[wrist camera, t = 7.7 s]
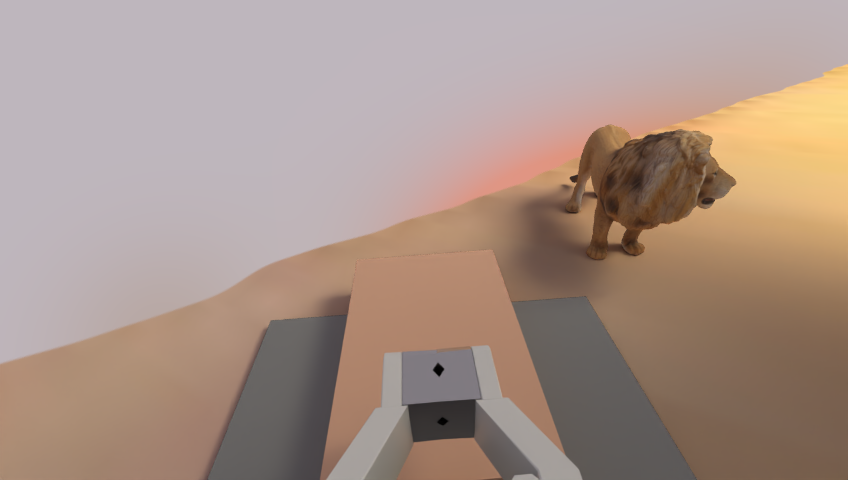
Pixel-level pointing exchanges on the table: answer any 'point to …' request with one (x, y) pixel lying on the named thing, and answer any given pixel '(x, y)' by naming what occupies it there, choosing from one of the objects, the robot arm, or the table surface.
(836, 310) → the table surface
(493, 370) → the robot arm
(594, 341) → the rubber mat
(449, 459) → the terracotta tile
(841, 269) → the table surface
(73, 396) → the table surface
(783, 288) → the table surface
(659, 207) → the lion figurine
